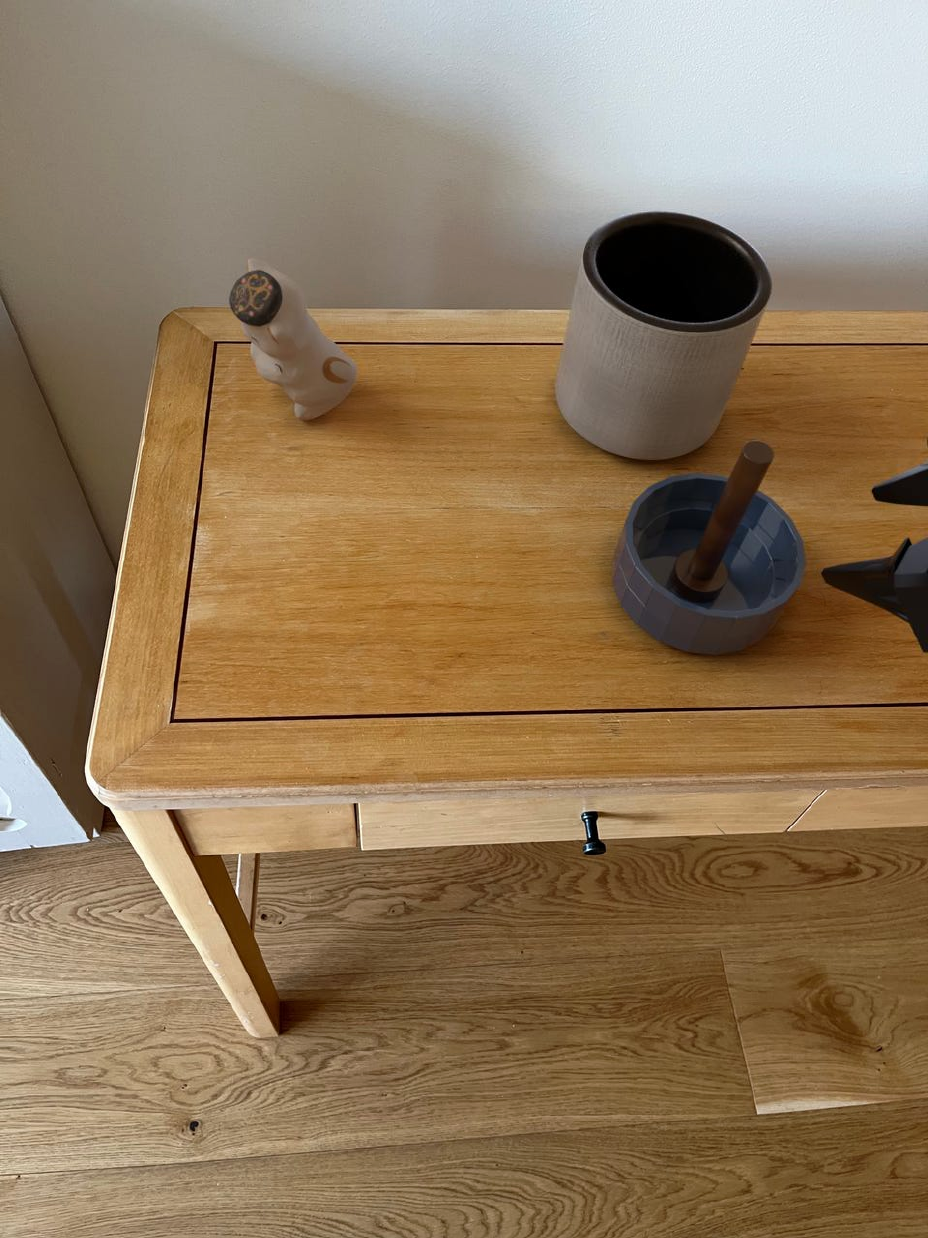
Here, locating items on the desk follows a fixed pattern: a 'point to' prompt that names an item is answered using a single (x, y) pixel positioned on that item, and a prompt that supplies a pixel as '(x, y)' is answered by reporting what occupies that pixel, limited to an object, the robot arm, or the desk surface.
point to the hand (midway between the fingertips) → (849, 533)
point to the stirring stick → (721, 528)
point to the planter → (658, 332)
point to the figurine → (290, 341)
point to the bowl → (755, 560)
